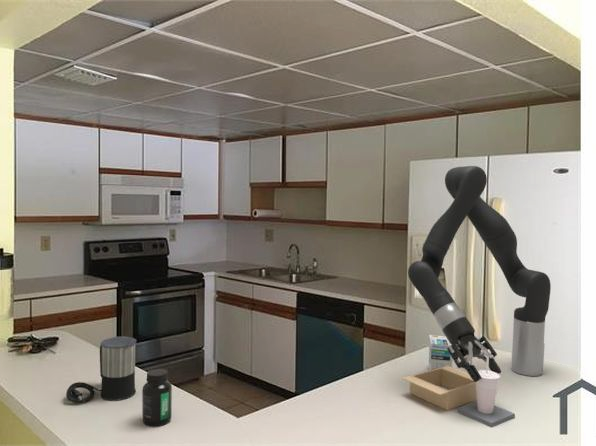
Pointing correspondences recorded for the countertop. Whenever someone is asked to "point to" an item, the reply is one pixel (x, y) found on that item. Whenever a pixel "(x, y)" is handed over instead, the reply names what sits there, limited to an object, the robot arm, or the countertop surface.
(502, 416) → the mat
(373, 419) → the countertop surface
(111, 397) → the milk frother
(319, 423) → the countertop surface
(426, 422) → the countertop surface
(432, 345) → the light bulb box
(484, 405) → the smoothie
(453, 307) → the robot arm
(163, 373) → the supplement bottle
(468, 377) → the carton
